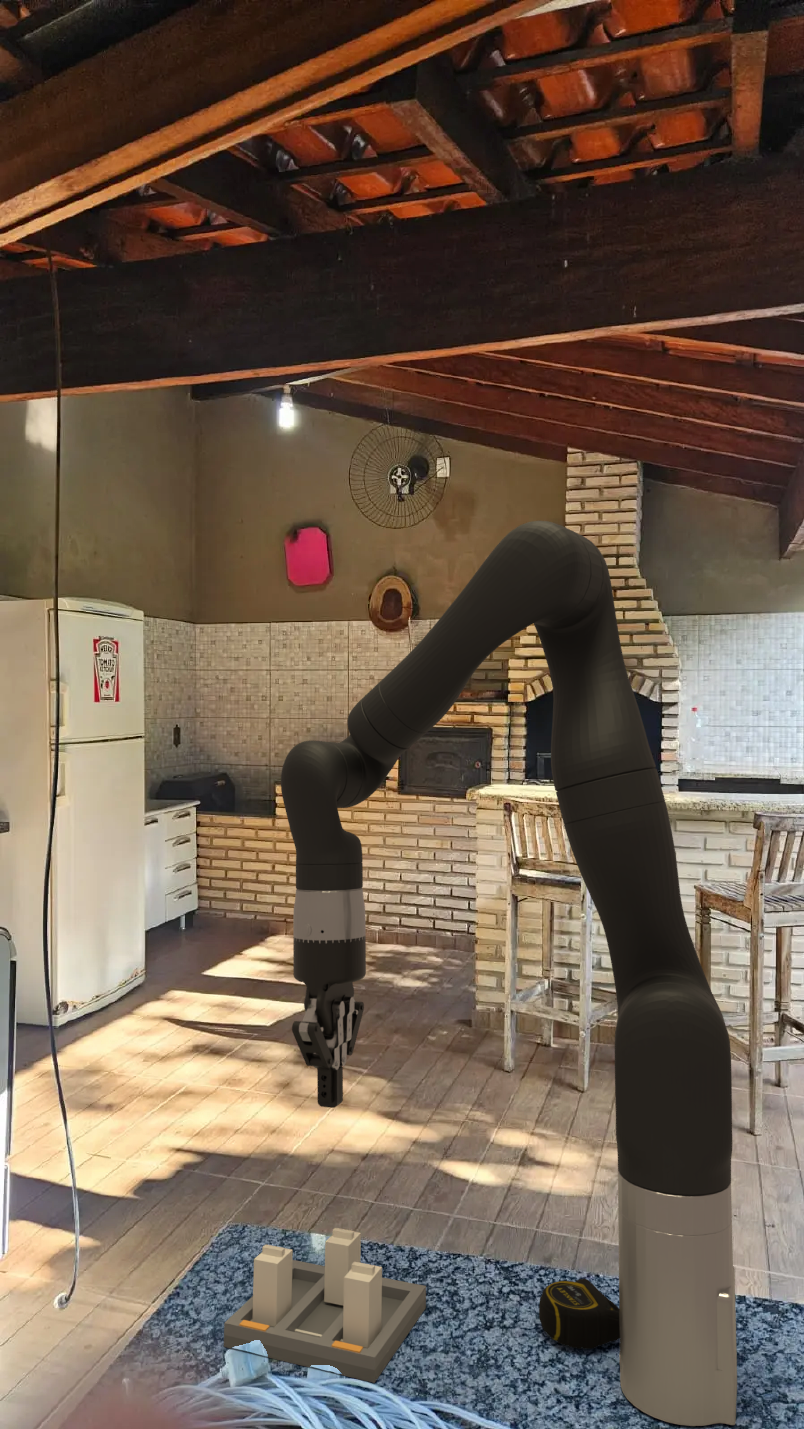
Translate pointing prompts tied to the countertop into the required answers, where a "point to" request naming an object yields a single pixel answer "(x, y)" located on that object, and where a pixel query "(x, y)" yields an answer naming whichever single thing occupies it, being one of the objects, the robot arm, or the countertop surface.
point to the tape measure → (578, 1314)
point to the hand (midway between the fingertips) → (330, 1104)
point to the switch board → (329, 1326)
